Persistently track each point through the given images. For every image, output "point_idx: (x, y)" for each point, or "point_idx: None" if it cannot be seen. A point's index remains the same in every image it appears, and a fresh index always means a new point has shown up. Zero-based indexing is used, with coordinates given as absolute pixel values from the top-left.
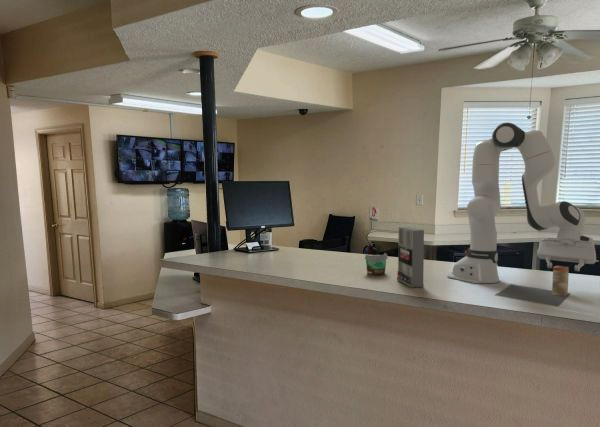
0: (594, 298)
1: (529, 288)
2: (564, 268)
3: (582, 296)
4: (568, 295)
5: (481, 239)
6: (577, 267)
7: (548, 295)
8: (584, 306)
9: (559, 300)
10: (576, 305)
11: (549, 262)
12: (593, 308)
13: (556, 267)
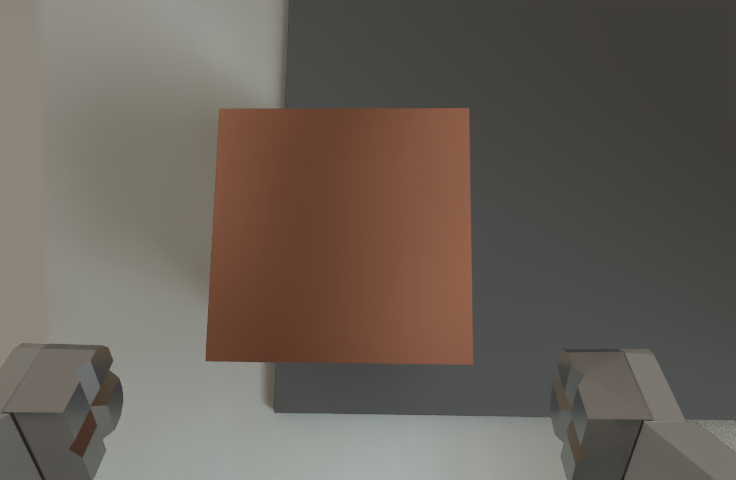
0: None
1: (708, 346)
2: (257, 121)
3: (162, 405)
4: None
5: None
6: (34, 364)
7: None
8: (115, 18)
9: (322, 32)
10: (177, 6)
11: (638, 409)
12: (45, 3)
13: (407, 124)
